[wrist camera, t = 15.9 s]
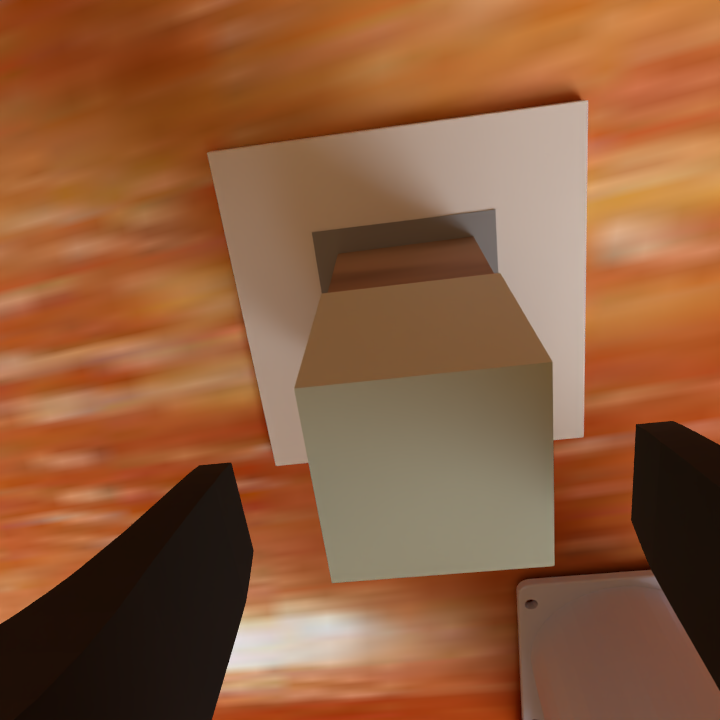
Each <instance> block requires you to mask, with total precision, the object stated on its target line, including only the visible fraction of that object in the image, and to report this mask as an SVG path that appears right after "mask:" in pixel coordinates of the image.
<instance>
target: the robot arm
mask: <svg viewBox="0 0 720 720" xmlns="http://www.w3.org/2000/svg"><path fill="white" fill-rule="evenodd" d="M631 521H632V523H633V526H634V529H635V531H636V534H637V536H638V539H639V541H640V544H641V547H642V549H643V552H644V554H645V556H646V559H647V561H648V563H649V566H650V568H651V570H642V571H628V572H615V573H601V574H588V575H575V576H561V577H548V578H535V579H526V580H523V581H521V582H520V583H519V584H518V585H517V589H516V592H517V616H518V640H519V664H520V688H521V712H522V720H720V445H719V444H717V443H715V442H713V441H711V440H709V439H708V438H706V437H704V436H702V435H700V434H698V433H696V432H694V431H692V430H691V429H689V428H687V427H685V426H683V425H680V424H678V423H676V422H674V421H668V422H657V423H647V424H636V437H635V456H634V476H633V495H632V515H631ZM252 559H253V547H252V543H251V539H250V535H249V531H248V527H247V523H246V519H245V515H244V511H243V507H242V503H241V499H240V495H239V491H238V487H237V483H236V480H235V476H234V472H233V468H232V464H231V463H221V464H211V465H200V466H198V467H197V468H195V469H194V470H193V471H192V472H190V473H189V474H188V475H187V476H186V477H185V478H183V479H182V480H181V481H180V482H179V483H178V484H177V485H176V486H174V487H173V488H172V489H171V490H170V491H169V492H168V493H167V494H166V495H165V496H163V497H162V498H161V499H160V500H159V501H158V502H157V503H156V504H155V505H154V506H152V507H151V508H150V509H149V510H148V511H147V512H146V513H145V514H143V515H142V516H141V517H140V518H139V519H138V520H137V521H136V522H135V523H133V524H132V525H131V526H130V527H129V528H128V529H127V530H126V531H124V532H123V533H122V534H121V535H120V536H119V537H117V538H116V539H115V540H114V541H112V542H111V543H110V544H109V545H108V546H106V547H105V548H104V549H103V550H102V551H100V552H99V553H98V554H97V555H95V556H94V557H93V558H92V559H91V560H89V561H88V562H87V563H86V564H85V565H83V566H82V567H81V568H80V569H78V570H77V571H76V572H75V573H73V574H72V575H71V576H69V577H68V578H67V579H65V580H64V581H63V582H61V583H60V584H59V585H57V586H56V587H55V588H53V589H52V590H50V591H49V592H48V593H46V594H45V595H43V596H42V597H40V598H39V599H38V600H36V601H35V602H33V603H32V604H30V605H29V606H27V607H26V608H25V609H23V610H22V611H20V612H19V613H17V614H16V615H14V616H13V617H11V618H10V619H8V620H6V621H5V622H3V623H1V624H0V720H212V717H213V714H214V710H215V707H216V703H217V700H218V697H219V693H220V690H221V686H222V683H223V680H224V676H225V673H226V669H227V666H228V663H229V659H230V656H231V652H232V649H233V646H234V642H235V639H236V635H237V632H238V628H239V625H240V621H241V618H242V614H243V611H244V607H245V603H246V598H247V592H248V586H249V580H250V573H251V566H252ZM531 599H532V600H533V601H531V602H526V601H527V600H531Z"/></svg>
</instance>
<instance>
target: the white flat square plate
mask: <svg viewBox="0 0 720 720" xmlns="http://www.w3.org/2000/svg"><path fill="white" fill-rule="evenodd" d="M587 148H588V100H578V101H571V102H564V103H557V104H549V105H542V106H535V107H527V108H520V109H513V110H506V111H498V112H491V113H484V114H477V115H469V116H462V117H455V118H448V119H440V120H433V121H426V122H419V123H411V124H404V125H397V126H389V127H382V128H375V129H368V130H360V131H353V132H346V133H339V134H331V135H324V136H317V137H310V138H302V139H295V140H288V141H281V142H273V143H266V144H259V145H251V146H244V147H237V148H230V149H222V150H215V151H210V152H208V153H207V155H208V160H209V165H210V169H211V174H212V178H213V183H214V187H215V192H216V196H217V201H218V205H219V210H220V215H221V219H222V224H223V228H224V233H225V237H226V242H227V246H228V251H229V255H230V260H231V265H232V269H233V274H234V278H235V283H236V287H237V292H238V296H239V301H240V305H241V310H242V315H243V319H244V324H245V328H246V333H247V337H248V342H249V346H250V351H251V355H252V360H253V365H254V369H255V374H256V378H257V383H258V387H259V392H260V396H261V401H262V405H263V410H264V415H265V419H266V424H267V428H268V433H269V437H270V442H271V446H272V451H273V455H274V460H275V465H276V466H280V465H291V464H302V463H308V458H307V453H306V448H305V442H304V437H303V432H302V427H301V422H300V417H299V412H298V407H297V401H296V396H295V391H294V387H295V383H296V380H297V377H298V373H299V370H300V366H301V363H302V359H303V356H304V352H305V349H306V345H307V342H308V338H309V335H310V332H311V328H312V325H313V321H314V318H315V314H316V311H317V307H318V304H319V300H320V297H321V294H322V293H328V290H329V286H330V282H331V278H332V274H333V271H334V267H335V263H336V259H337V255H338V254H340V253H348V252H356V251H364V250H371V249H379V248H387V247H395V246H402V245H410V244H418V243H426V242H433V241H441V240H449V239H457V238H465V237H472V236H474V238H475V240H476V242H477V244H478V245H479V247H480V249H481V251H482V253H483V254H484V256H485V258H486V260H487V262H488V263H489V265H490V267H491V269H492V271H493V272H494V274H495V273H501V275H502V277H503V278H504V280H505V282H506V284H507V285H508V287H509V289H510V290H511V292H512V294H513V295H514V297H515V299H516V300H517V302H518V304H519V306H520V307H521V309H522V311H523V312H524V314H525V316H526V317H527V319H528V321H529V323H530V324H531V326H532V328H533V329H534V331H535V333H536V334H537V336H538V338H539V340H540V341H541V343H542V345H543V346H544V348H545V350H546V351H547V353H548V355H549V357H550V358H551V360H552V362H553V440H560V439H571V438H581V437H584V379H585V302H586V225H587Z"/></svg>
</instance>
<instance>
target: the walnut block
mask: <svg viewBox="0 0 720 720" xmlns="http://www.w3.org/2000/svg"><path fill="white" fill-rule="evenodd" d="M486 274H494V272H493V271H492V269H491V267H490V265H489V263H488V262H487V260H486V258H485V256H484V254H483V253H482V251H481V249H480V247H479V245H478V244H477V242H476V240H475V238H474V236H472V237H465V238H457V239H449V240H441V241H433V242H426V243H418V244H410V245H402V246H395V247H387V248H379V249H371V250H364V251H356V252H348V253H340V254H338V255H337V259H336V263H335V267H334V271H333V274H332V278H331V282H330V286H329V290H328V293H331V292H340V291H348V290H357V289H365V288H374V287H383V286H391V285H400V284H409V283H417V282H426V281H434V280H443V279H452V278H460V277H469V276H477V275H486Z"/></svg>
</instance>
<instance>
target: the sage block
mask: <svg viewBox="0 0 720 720" xmlns="http://www.w3.org/2000/svg"><path fill="white" fill-rule="evenodd" d="M294 391H295V396H296V401H297V407H298V412H299V417H300V422H301V427H302V432H303V437H304V442H305V448H306V453H307V458H308V463H309V468H310V473H311V478H312V483H313V489H314V494H315V499H316V504H317V509H318V514H319V519H320V524H321V530H322V535H323V540H324V545H325V550H326V555H327V560H328V566H329V571H330V576H331V581H332V583H339V582H352V581H365V580H378V579H391V578H404V577H418V576H431V575H444V574H457V573H470V572H483V571H496V570H509V569H522V568H535V567H549V566H555V556H554V453H553V362H552V360H551V358H550V357H549V355H548V353H547V351H546V350H545V348H544V346H543V345H542V343H541V341H540V340H539V338H538V336H537V334H536V333H535V331H534V329H533V328H532V326H531V324H530V323H529V321H528V319H527V317H526V316H525V314H524V312H523V311H522V309H521V307H520V306H519V304H518V302H517V300H516V299H515V297H514V295H513V294H512V292H511V290H510V289H509V287H508V285H507V284H506V282H505V280H504V278H503V277H502V275H501V273H495V274H486V275H477V276H469V277H460V278H452V279H443V280H434V281H426V282H417V283H409V284H400V285H391V286H383V287H374V288H365V289H357V290H348V291H340V292H331V293H322V294H321V297H320V300H319V304H318V307H317V311H316V314H315V318H314V321H313V325H312V328H311V332H310V335H309V338H308V342H307V345H306V349H305V352H304V356H303V359H302V363H301V366H300V370H299V373H298V377H297V380H296V383H295V387H294Z"/></svg>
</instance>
